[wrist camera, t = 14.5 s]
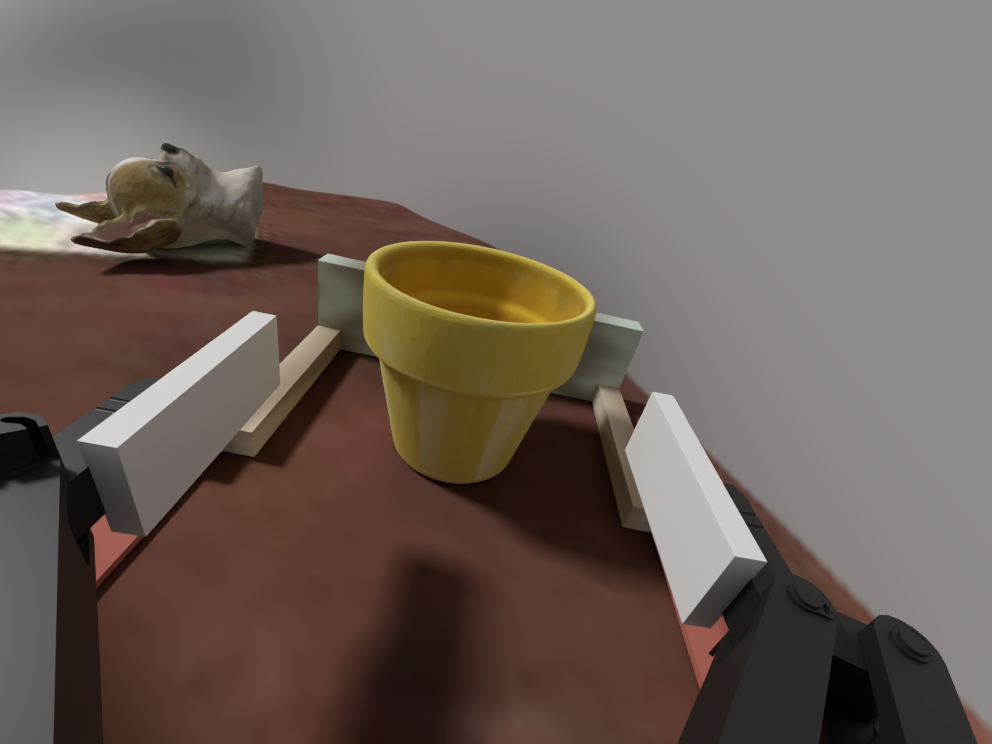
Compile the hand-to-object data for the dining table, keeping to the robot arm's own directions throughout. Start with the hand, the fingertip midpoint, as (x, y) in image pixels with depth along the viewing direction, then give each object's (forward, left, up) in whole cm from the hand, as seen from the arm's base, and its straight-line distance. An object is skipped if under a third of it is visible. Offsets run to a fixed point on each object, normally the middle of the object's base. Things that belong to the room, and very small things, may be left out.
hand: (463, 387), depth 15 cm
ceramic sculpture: (-28, +25, -8) cm, 39 cm away
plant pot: (0, +6, -8) cm, 10 cm away
